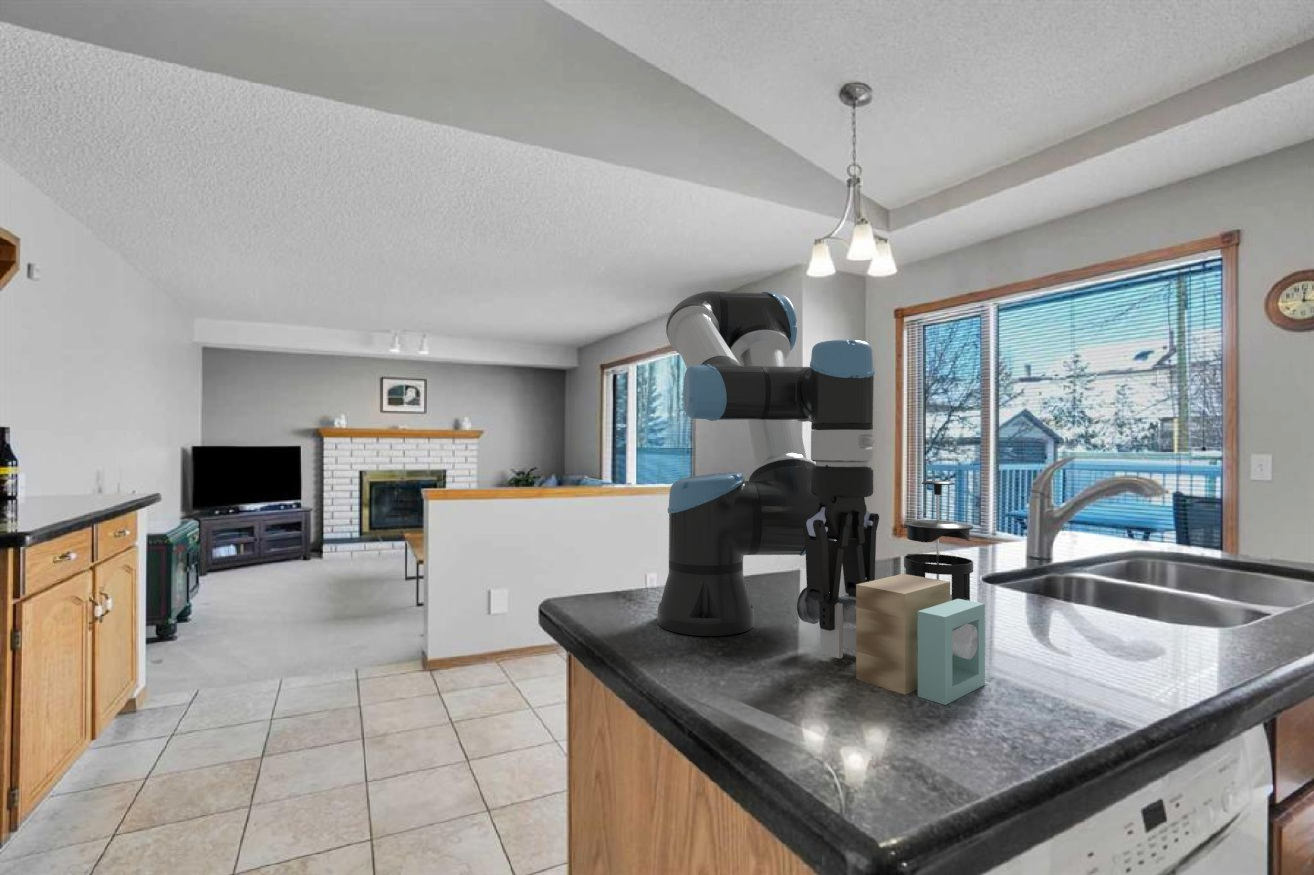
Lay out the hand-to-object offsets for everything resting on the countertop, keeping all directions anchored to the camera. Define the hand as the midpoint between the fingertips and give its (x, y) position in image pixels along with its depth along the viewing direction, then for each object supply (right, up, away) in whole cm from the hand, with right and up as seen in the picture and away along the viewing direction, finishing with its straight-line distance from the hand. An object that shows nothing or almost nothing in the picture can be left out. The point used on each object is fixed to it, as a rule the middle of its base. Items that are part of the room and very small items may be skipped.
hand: (841, 651), depth 82 cm
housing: (+5, -2, -6) cm, 9 cm away
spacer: (+9, -1, -11) cm, 14 cm away
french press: (+16, -3, +10) cm, 19 cm away
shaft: (+3, +3, -4) cm, 6 cm away
